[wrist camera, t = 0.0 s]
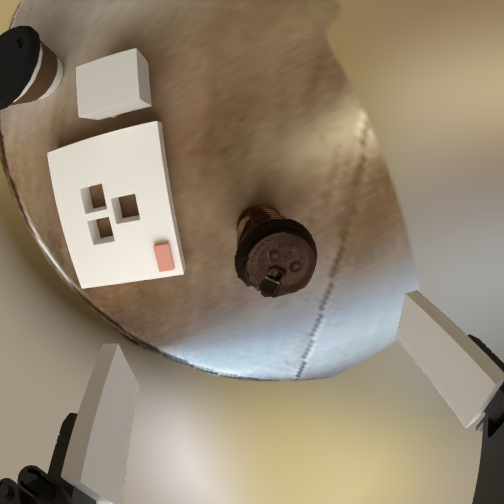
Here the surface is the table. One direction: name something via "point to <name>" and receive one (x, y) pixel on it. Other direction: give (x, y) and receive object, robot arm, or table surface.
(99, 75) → the plug
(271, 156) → the table surface
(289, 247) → the coffee cup
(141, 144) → the socket plate
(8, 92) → the coffee cup
